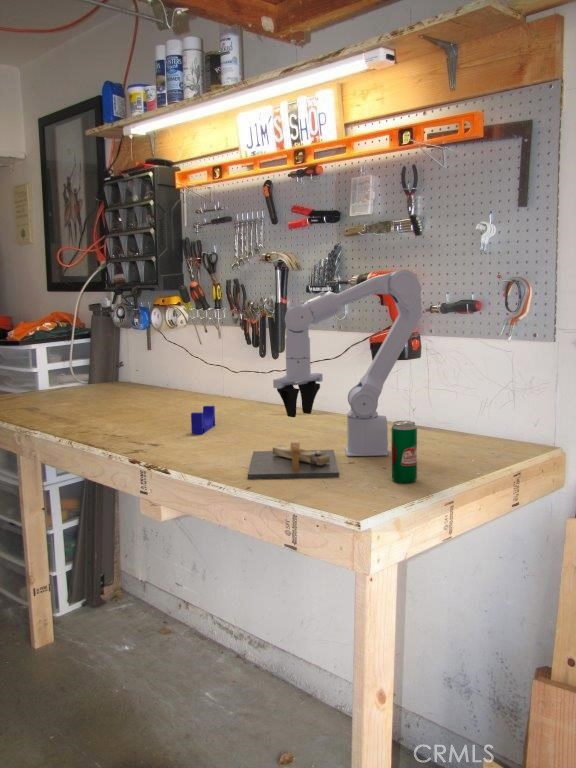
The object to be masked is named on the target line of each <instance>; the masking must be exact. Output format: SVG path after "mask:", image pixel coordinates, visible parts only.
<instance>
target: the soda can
mask: <svg viewBox="0 0 576 768" xmlns="http://www.w3.org/2000/svg"><path fill="white" fill-rule="evenodd" d="M391 479H392V481H394V483H398V484H413V483H415V482H416V481H417V479H418V427H417V426H416V422H415V421H411V420H395V421H393V425H392V426H391Z"/></svg>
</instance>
